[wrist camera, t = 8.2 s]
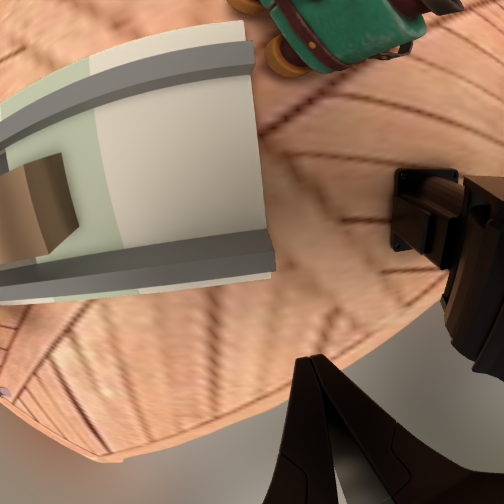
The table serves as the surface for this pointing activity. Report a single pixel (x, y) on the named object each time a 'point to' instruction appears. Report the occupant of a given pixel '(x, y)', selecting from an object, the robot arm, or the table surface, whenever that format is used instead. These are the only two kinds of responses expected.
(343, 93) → the table surface
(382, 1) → the binoculars
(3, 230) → the walnut block
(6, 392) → the flower
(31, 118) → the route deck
